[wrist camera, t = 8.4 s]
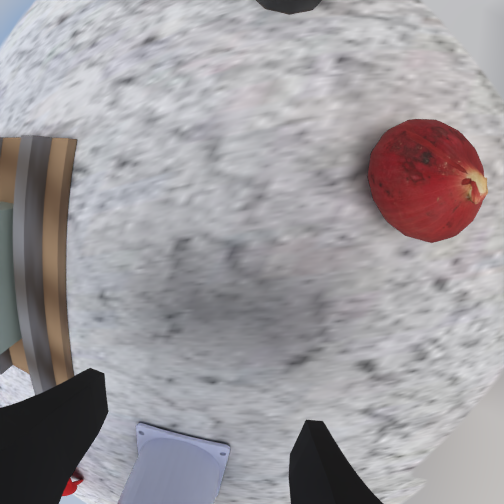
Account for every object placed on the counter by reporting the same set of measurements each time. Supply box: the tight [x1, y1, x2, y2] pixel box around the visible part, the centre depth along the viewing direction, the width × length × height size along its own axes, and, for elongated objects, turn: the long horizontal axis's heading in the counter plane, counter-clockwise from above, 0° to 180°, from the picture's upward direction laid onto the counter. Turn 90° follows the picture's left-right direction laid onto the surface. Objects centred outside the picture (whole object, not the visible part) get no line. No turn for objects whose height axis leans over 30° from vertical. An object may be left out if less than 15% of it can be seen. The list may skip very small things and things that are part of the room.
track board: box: [0, 136, 77, 395], centre depth 17 cm, size 20×10×3 cm, turn 169°
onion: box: [367, 119, 488, 243], centre depth 12 cm, size 6×6×8 cm
